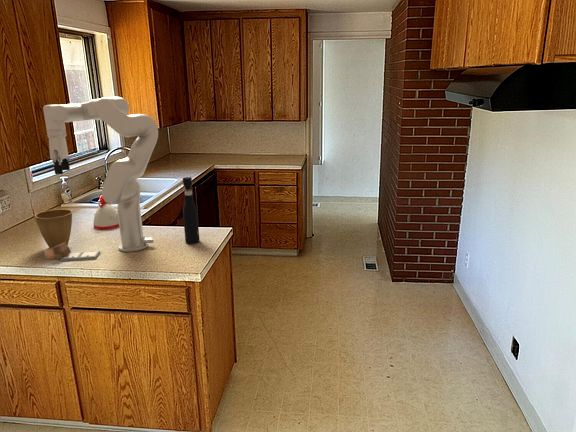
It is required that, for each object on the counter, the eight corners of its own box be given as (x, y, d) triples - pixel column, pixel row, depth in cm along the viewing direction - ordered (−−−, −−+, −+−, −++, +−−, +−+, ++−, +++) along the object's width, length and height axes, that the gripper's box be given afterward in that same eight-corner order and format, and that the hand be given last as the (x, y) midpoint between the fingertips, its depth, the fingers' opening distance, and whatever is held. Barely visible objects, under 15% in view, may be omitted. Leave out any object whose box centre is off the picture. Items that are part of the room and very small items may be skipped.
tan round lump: (63, 254, 197) (62, 246, 196) (58, 259, 192) (57, 251, 191) (48, 255, 197) (47, 247, 196) (43, 260, 191) (42, 252, 190)
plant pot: (39, 254, 197) (32, 219, 192) (42, 244, 210) (36, 211, 206) (76, 249, 202) (71, 215, 198) (77, 240, 215) (72, 207, 211)
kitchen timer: (127, 223, 240) (124, 196, 236) (107, 231, 228) (103, 202, 224) (109, 220, 246) (105, 193, 242) (88, 227, 235) (83, 199, 231)
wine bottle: (184, 241, 210) (178, 177, 202) (198, 239, 213) (192, 176, 204) (187, 245, 204) (181, 179, 196) (201, 243, 207) (195, 178, 199)
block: (71, 252, 194) (65, 242, 192) (65, 256, 190) (59, 245, 188) (63, 254, 194) (57, 244, 193) (57, 258, 191) (52, 248, 189)
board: (100, 253, 197) (100, 250, 197) (96, 258, 191) (95, 256, 190) (66, 255, 196) (66, 252, 195) (61, 261, 189) (60, 258, 189)
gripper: (54, 131, 207) (60, 169, 212) (40, 135, 190) (47, 176, 195) (71, 131, 208) (77, 168, 213) (59, 135, 192) (65, 175, 196)
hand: (62, 171), depth 204 cm, fingers open, 9 cm apart
